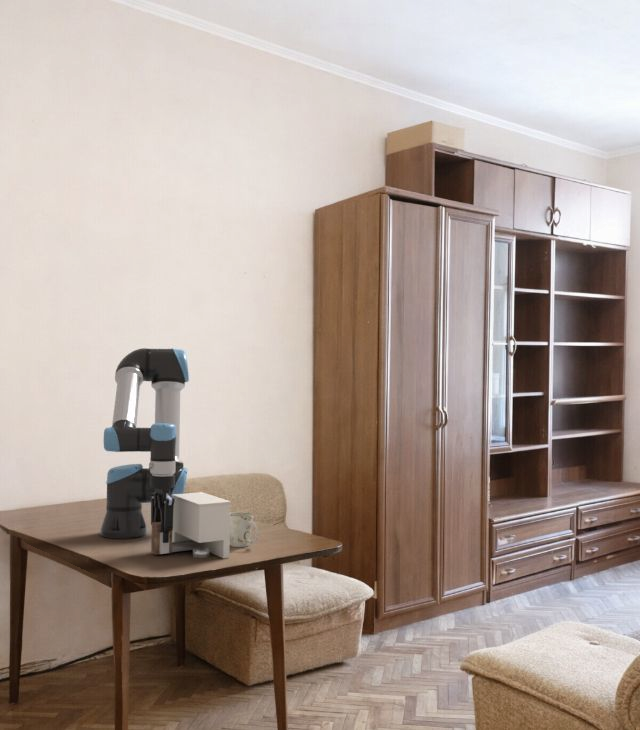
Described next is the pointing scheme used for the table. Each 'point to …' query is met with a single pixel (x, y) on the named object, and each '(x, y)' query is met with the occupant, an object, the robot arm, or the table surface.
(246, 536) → the mug
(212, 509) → the cabinet
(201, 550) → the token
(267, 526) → the table surface
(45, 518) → the table surface
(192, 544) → the blade tool
